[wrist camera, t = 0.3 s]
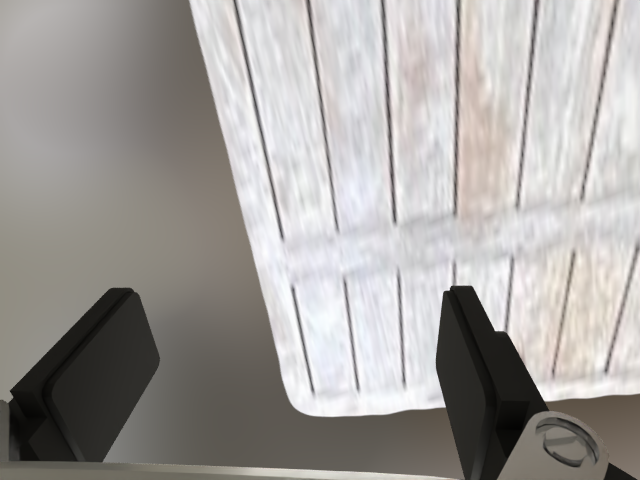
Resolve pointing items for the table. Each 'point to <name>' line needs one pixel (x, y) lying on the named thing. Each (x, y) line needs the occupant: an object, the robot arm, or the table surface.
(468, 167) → the table surface
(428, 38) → the table surface
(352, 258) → the table surface
